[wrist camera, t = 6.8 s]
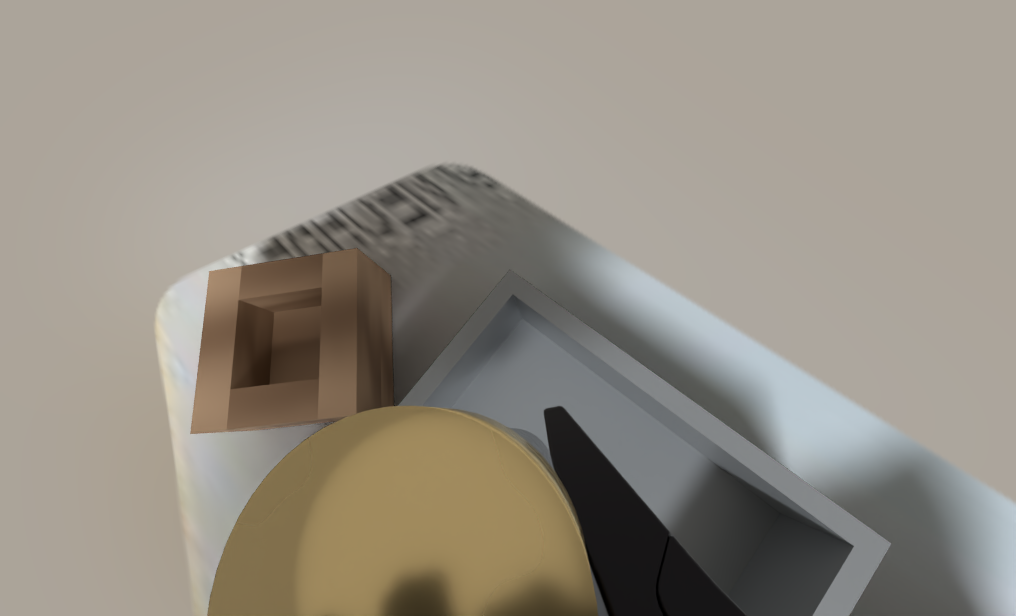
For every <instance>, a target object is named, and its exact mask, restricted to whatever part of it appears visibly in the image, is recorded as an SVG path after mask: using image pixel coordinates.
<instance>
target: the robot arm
mask: <svg viewBox="0 0 1016 616" xmlns="http://www.w3.org/2000/svg"><path fill="white" fill-rule="evenodd" d="M544 419H545V426H546V432H547V438H548V445H549V451H550V456H551V460H552V464H553V468H554V471H555V472H556V474H557V476H558V477H559V479H560V481H561V482H562V484H563V485H564V487H565V489H566V490H567V492H568V495H569V497H570V499H571V501H572V503H573V506H574V508H575V510H576V513H577V516H578V519H579V522H580V525H581V528H582V531H583V535H584V540H585V545H586V550H587V555H588V560H589V565H590V570H591V575H592V581H593V586H594V591H595V596H596V601H597V610H598V616H747V615H746V614H745V613H744V612H743V611H742V610H741V609H740V608H739V607H738V606H737V605H736V604H735V603H734V602H733V601H732V600H731V598H730V597H729V596H728V595H727V594H726V593H725V592H724V591H723V590H722V589H721V588H720V587H719V586H718V585H717V584H716V583H715V582H714V581H713V580H712V579H711V577H710V576H709V575H708V574H707V573H706V572H705V571H704V570H703V569H702V568H701V566H700V565H699V564H698V563H697V562H696V561H695V560H694V559H693V558H692V556H691V555H690V554H689V553H688V552H687V551H686V549H685V548H684V547H683V546H682V545H681V544H680V542H679V541H678V540H677V539H676V538H675V537H674V536H670V531H669V530H668V529H667V528H666V526H665V525H664V524H663V523H662V522H661V521H660V519H659V518H658V517H657V516H656V515H655V513H654V512H653V511H652V510H651V509H650V508H649V506H648V505H647V504H646V503H645V502H644V501H643V499H642V498H641V497H640V496H639V495H638V494H637V492H636V491H635V490H634V489H633V488H632V487H631V485H630V484H629V483H628V482H627V481H626V480H625V478H624V477H623V476H622V475H621V474H620V472H619V471H618V470H617V469H616V468H615V467H614V465H613V464H612V463H611V462H610V461H609V460H608V458H607V457H606V456H605V455H604V454H603V453H602V451H601V450H600V449H599V448H598V447H597V446H596V444H595V443H594V442H593V441H592V440H591V439H590V437H589V436H588V435H587V434H586V433H585V432H584V430H583V429H582V428H581V427H580V426H579V424H578V423H577V422H576V421H575V420H574V419H573V417H572V416H571V415H570V414H569V413H568V412H567V410H566V409H565V408H564V407H563V406H555V407H550V408H546V409H544Z"/></svg>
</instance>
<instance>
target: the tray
mask: <svg viewBox="0 0 1016 616" xmlns="http://www.w3.org/2000/svg"><path fill="white" fill-rule="evenodd" d="M398 406H425V407H439V408H450V409H461V410H465V411H469V412H473V413H478V414H480V415H483V416H486V417H488V418H491V419H493V420H496V421H497V422H499V423H501V424H503V425H505V426H506V427H508V428H518V429H523V430H526V431H528V432H530V433H532V434H534V435H535V436H537V437H538V438H539V439H540V440H541V441H542V442H543V443H544V444H545V445H546V447H547V448H548V450H549V445H548V438H547V432H546V426H545V419H544V409H546V408H550V407H555V406H563V407H564V408H565V409H566V410H567V412H568V413H569V414H570V415H571V416H572V417H573V419H574V420H575V421H576V422H577V423H578V424H579V426H580V427H581V428H582V429H583V430H584V432H585V433H586V434H587V435H588V436H589V437H590V439H591V440H592V441H593V442H594V443H595V444H596V446H597V447H598V448H599V449H600V450H601V451H602V453H603V454H604V455H605V456H606V457H607V458H608V460H609V461H610V462H611V463H612V464H613V465H614V467H615V468H616V469H617V470H618V471H619V472H620V474H621V475H622V476H623V477H624V478H625V480H626V481H627V482H628V483H629V484H630V485H631V487H632V488H633V489H634V490H635V491H636V492H637V494H638V495H639V496H640V497H641V498H642V499H643V501H644V502H645V503H646V504H647V505H648V506H649V508H650V509H651V510H652V511H653V512H654V513H655V515H656V516H657V517H658V518H659V519H660V521H661V522H662V523H663V524H664V525H665V526H666V528H667V529H668V530H669V531H670V536H674V537H675V538H676V539H677V540H678V541H679V542H680V544H681V545H682V546H683V547H684V548H685V549H686V551H687V552H688V553H689V554H690V555H691V556H692V558H693V559H694V560H695V561H696V562H697V563H698V564H699V565H700V566H701V568H702V569H703V570H704V571H705V572H706V573H707V574H708V575H709V576H710V577H711V579H712V580H713V581H714V582H715V583H716V584H717V585H718V586H719V587H720V588H721V589H722V590H723V591H724V592H725V593H726V594H727V595H728V596H729V597H730V598H731V600H732V601H733V602H734V603H735V604H736V605H737V606H738V607H739V608H740V609H741V610H742V611H743V612H744V613H745V614H746V615H747V616H849V615H850V614H851V612H852V610H853V609H854V607H855V605H856V603H857V602H858V600H859V598H860V597H861V595H862V593H863V591H864V590H865V588H866V586H867V585H868V583H869V581H870V580H871V578H872V576H873V574H874V573H875V571H876V569H877V568H878V566H879V564H880V562H881V561H882V559H883V557H884V556H885V554H886V552H887V551H888V549H889V547H890V545H891V543H890V542H889V541H887V540H886V539H885V538H883V537H882V536H880V535H879V534H878V533H876V532H875V531H873V530H872V529H871V528H869V527H868V526H866V525H865V524H864V523H862V522H861V521H859V520H858V519H857V518H855V517H854V516H853V515H851V514H850V513H848V512H847V511H846V510H844V509H843V508H841V507H840V506H839V505H837V504H836V503H834V502H833V501H832V500H830V499H829V498H827V497H826V496H825V495H823V494H822V493H820V492H819V491H818V490H816V489H815V488H814V487H812V486H811V485H809V484H808V483H807V482H805V481H804V480H802V479H801V478H800V477H798V476H797V475H795V474H794V473H793V472H791V471H790V470H788V469H787V468H786V467H784V466H783V465H782V464H780V463H779V462H777V461H776V460H775V459H773V458H772V457H770V456H769V455H768V454H766V453H765V452H763V451H762V450H761V449H759V448H758V447H756V446H755V445H754V444H752V443H751V442H749V441H748V440H747V439H745V438H744V437H743V436H741V435H740V434H738V433H737V432H736V431H734V430H733V429H731V428H730V427H729V426H727V425H726V424H724V423H723V422H722V421H720V420H719V419H717V418H716V417H715V416H713V415H712V414H711V413H709V412H708V411H706V410H705V409H704V408H702V407H701V406H699V405H698V404H697V403H695V402H694V401H692V400H691V399H690V398H688V397H687V396H685V395H684V394H683V393H681V392H680V391H678V390H677V389H676V388H674V387H673V386H672V385H670V384H669V383H667V382H666V381H665V380H663V379H662V378H660V377H659V376H658V375H656V374H655V373H653V372H652V371H651V370H649V369H648V368H646V367H645V366H644V365H642V364H641V363H640V362H638V361H637V360H635V359H634V358H633V357H631V356H630V355H628V354H627V353H626V352H624V351H623V350H621V349H620V348H619V347H617V346H616V345H614V344H613V343H612V342H610V341H609V340H607V339H606V338H605V337H603V336H602V335H601V334H599V333H598V332H596V331H595V330H594V329H592V328H591V327H589V326H588V325H587V324H585V323H584V322H582V321H581V320H580V319H578V318H577V317H575V316H574V315H573V314H571V313H570V312H569V311H567V310H566V309H564V308H563V307H562V306H560V305H559V304H557V303H556V302H555V301H553V300H552V299H550V298H549V297H548V296H546V295H545V294H543V293H542V292H541V291H539V290H538V289H536V288H535V287H534V286H532V285H531V284H530V283H528V282H527V281H525V280H524V279H523V278H521V277H520V276H518V275H517V274H516V273H514V272H513V271H511V270H509V271H508V272H507V274H506V275H505V276H504V277H503V279H502V280H501V281H500V282H499V283H498V285H497V286H496V287H495V288H494V289H493V291H492V292H491V293H490V294H489V296H488V297H487V298H486V299H485V300H484V302H483V303H482V304H481V305H480V306H479V308H478V309H477V310H476V311H475V313H474V314H473V315H472V316H471V317H470V319H469V320H468V321H467V322H466V324H465V325H464V326H463V327H462V328H461V330H460V331H459V332H458V333H457V334H456V336H455V337H454V338H453V339H452V341H451V342H450V343H449V344H448V345H447V347H446V348H445V349H444V350H443V351H442V353H441V354H440V355H439V356H438V358H437V359H436V360H435V361H434V362H433V364H432V365H431V366H430V367H429V369H428V370H427V371H426V372H425V373H424V375H423V376H422V377H421V378H420V379H419V381H418V382H417V383H416V384H415V386H414V387H413V388H412V389H411V390H410V392H409V393H408V394H407V395H406V396H405V398H404V399H403V400H402V401H401V403H400V404H399V405H398Z"/></svg>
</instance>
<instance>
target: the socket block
mask: <svg viewBox="0 0 1016 616" xmlns="http://www.w3.org/2000/svg"><path fill="white" fill-rule="evenodd" d="M388 406H394V395H393V349H392V303H391V275H389V274H388V273H387V272H386V271H385V270H383V269H382V268H381V267H380V266H378V265H377V264H376V263H375V262H374V261H372V260H371V259H370V258H369V257H367V256H366V255H365V254H364V253H363V252H361V251H360V250H359V249H358V248H354V249H348V250H342V251H335V252H329V253H323V254H316V255H310V256H304V257H297V258H291V259H284V260H278V261H272V262H265V263H259V264H253V265H246V266H240V267H234V268H227V269H221V270H214V271H209V280H208V288H207V297H206V305H205V314H204V322H203V331H202V339H201V348H200V356H199V365H198V373H197V382H196V390H195V399H194V407H193V416H192V424H191V433H190V434H198V433H216V432H234V431H252V430H263V429H272V428H281V427H290V426H299V425H307V424H316V423H325V422H334V421H339V420H341V419H343V418H345V417H348V416H351V415H354V414H357V413H360V412H363V411H367V410H372V409H377V408H383V407H388Z"/></svg>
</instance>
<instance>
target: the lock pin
mask: <svg viewBox="0 0 1016 616" xmlns="http://www.w3.org/2000/svg"><path fill="white" fill-rule="evenodd" d="M207 616H598V610H597V601H596V596H595V591H594V586H593V581H592V575H591V570H590V565H589V560H588V555H587V550H586V545H585V540H584V535H583V531H582V528H581V525H580V522H579V519H578V516H577V513H576V510H575V508H574V506H573V503H572V501H571V499H570V497H569V495H568V492H567V490H566V489H565V487H564V485H563V484H562V482H561V481H560V479H559V477H558V476H557V474H556V472H555V471H554V468H553V464H552V460H551V456H550V451H549V450H548V448H547V447H546V445H545V444H544V443H543V442H542V441H541V440H540V439H539V438H538V437H537V436H535V435H534V434H532V433H530V432H528V431H526V430H523V429H518V428H508V427H506V426H505V425H503V424H501V423H499V422H497V421H496V420H493V419H491V418H488V417H486V416H483V415H480V414H478V413H473V412H469V411H465V410H461V409H450V408H439V407H425V406H388V407H383V408H377V409H372V410H367V411H363V412H360V413H357V414H354V415H351V416H348V417H345V418H343V419H341V420H339V421H337V422H335V423H333V424H331V425H328V426H326V427H324V428H323V429H321V430H320V431H318V432H316V433H315V434H313V435H312V436H310V437H309V438H307V439H306V440H304V441H303V442H302V443H300V444H299V445H298V446H297V447H296V448H294V449H293V450H292V451H291V452H290V453H288V454H287V455H286V456H285V457H284V458H283V459H282V460H281V461H280V462H279V463H278V464H277V465H276V466H275V467H274V468H273V470H272V471H271V472H270V473H269V474H268V475H267V476H266V478H265V479H264V480H263V481H262V483H261V484H260V485H259V487H258V488H257V489H256V491H255V492H254V493H253V495H252V496H251V498H250V499H249V501H248V503H247V504H246V506H245V508H244V509H243V511H242V513H241V514H240V516H239V518H238V520H237V522H236V524H235V526H234V528H233V530H232V532H231V534H230V536H229V539H228V541H227V543H226V546H225V548H224V551H223V554H222V557H221V560H220V562H219V565H218V568H217V572H216V576H215V580H214V583H213V587H212V591H211V595H210V601H209V608H208V614H207Z"/></svg>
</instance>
